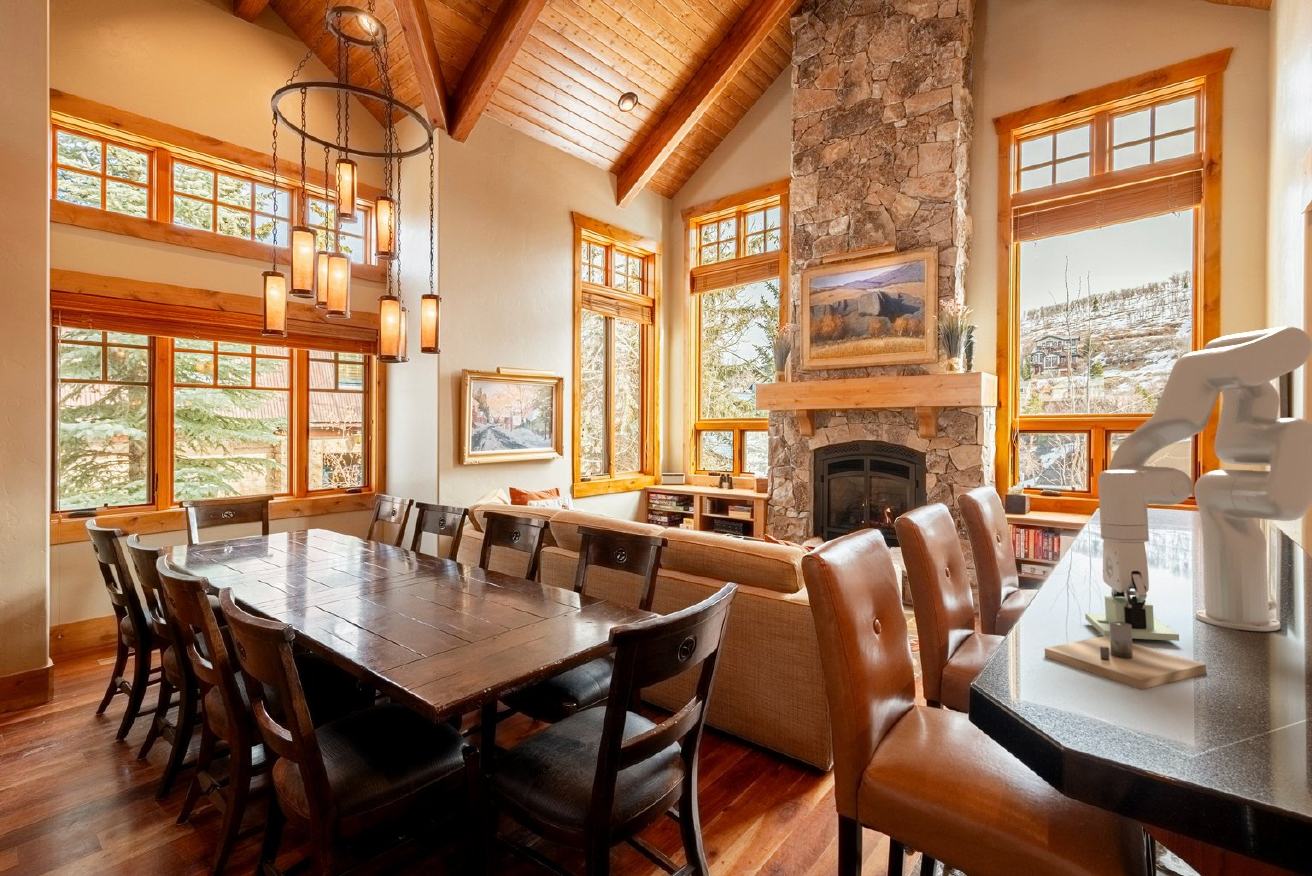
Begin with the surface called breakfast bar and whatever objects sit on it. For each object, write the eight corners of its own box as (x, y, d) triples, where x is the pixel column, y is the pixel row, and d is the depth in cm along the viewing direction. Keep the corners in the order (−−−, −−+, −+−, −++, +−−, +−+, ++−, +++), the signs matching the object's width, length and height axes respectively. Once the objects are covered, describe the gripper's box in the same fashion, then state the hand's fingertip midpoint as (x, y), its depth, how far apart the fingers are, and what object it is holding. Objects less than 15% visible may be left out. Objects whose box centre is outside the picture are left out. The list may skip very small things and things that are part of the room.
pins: (1118, 651, 107) (1117, 620, 107) (1136, 657, 104) (1135, 625, 104) (1093, 657, 105) (1092, 625, 105) (1111, 662, 102) (1110, 630, 102)
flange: (1152, 622, 123) (1151, 594, 123) (1179, 640, 113) (1177, 610, 113) (1085, 619, 127) (1084, 592, 127) (1104, 636, 117) (1103, 607, 117)
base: (1106, 643, 115) (1105, 636, 115) (1206, 673, 100) (1206, 664, 100) (1044, 656, 110) (1044, 648, 110) (1141, 689, 95) (1140, 679, 95)
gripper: (1087, 525, 129) (1092, 609, 129) (1117, 539, 113) (1122, 635, 113) (1130, 525, 127) (1134, 611, 127) (1166, 539, 111) (1172, 638, 111)
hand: (1129, 622), depth 120 cm, fingers closed on flange, 6 cm apart
